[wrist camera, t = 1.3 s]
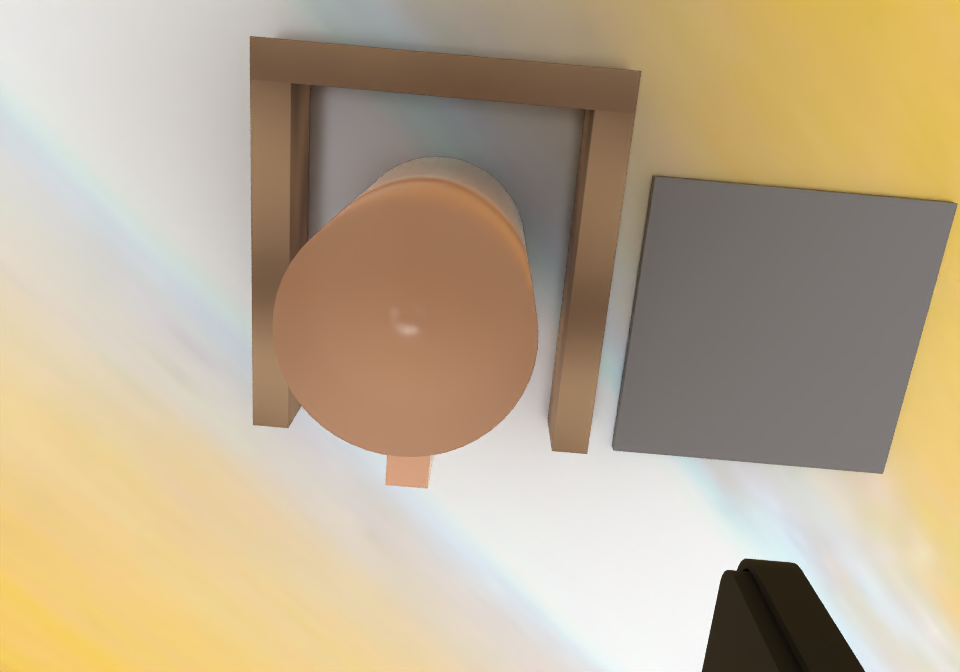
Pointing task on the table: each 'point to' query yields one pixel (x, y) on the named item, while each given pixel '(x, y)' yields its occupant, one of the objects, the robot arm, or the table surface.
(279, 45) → the brown wooden u-shaped piece
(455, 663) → the table surface
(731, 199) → the mat
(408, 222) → the pink mug
